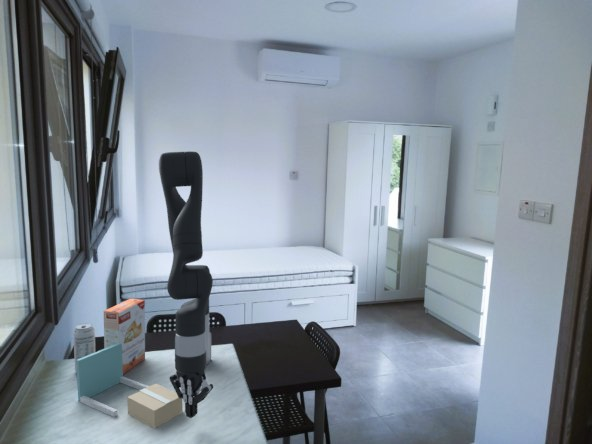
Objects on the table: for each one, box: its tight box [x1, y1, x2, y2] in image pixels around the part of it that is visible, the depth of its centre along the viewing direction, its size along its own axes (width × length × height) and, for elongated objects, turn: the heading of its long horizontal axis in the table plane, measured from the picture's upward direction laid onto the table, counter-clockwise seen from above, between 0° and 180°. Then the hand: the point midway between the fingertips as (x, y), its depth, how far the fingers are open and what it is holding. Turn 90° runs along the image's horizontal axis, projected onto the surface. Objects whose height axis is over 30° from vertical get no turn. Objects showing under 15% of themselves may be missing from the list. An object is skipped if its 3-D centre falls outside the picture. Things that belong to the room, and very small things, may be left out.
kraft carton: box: [126, 383, 184, 429], centre depth 115 cm, size 9×11×5 cm
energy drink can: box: [72, 322, 96, 373], centre depth 136 cm, size 6×6×15 cm
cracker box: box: [103, 298, 146, 375], centre depth 140 cm, size 14×6×21 cm, turn 166°
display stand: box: [76, 343, 150, 418], centre depth 122 cm, size 14×15×12 cm
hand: (191, 415), depth 108 cm, fingers closed
